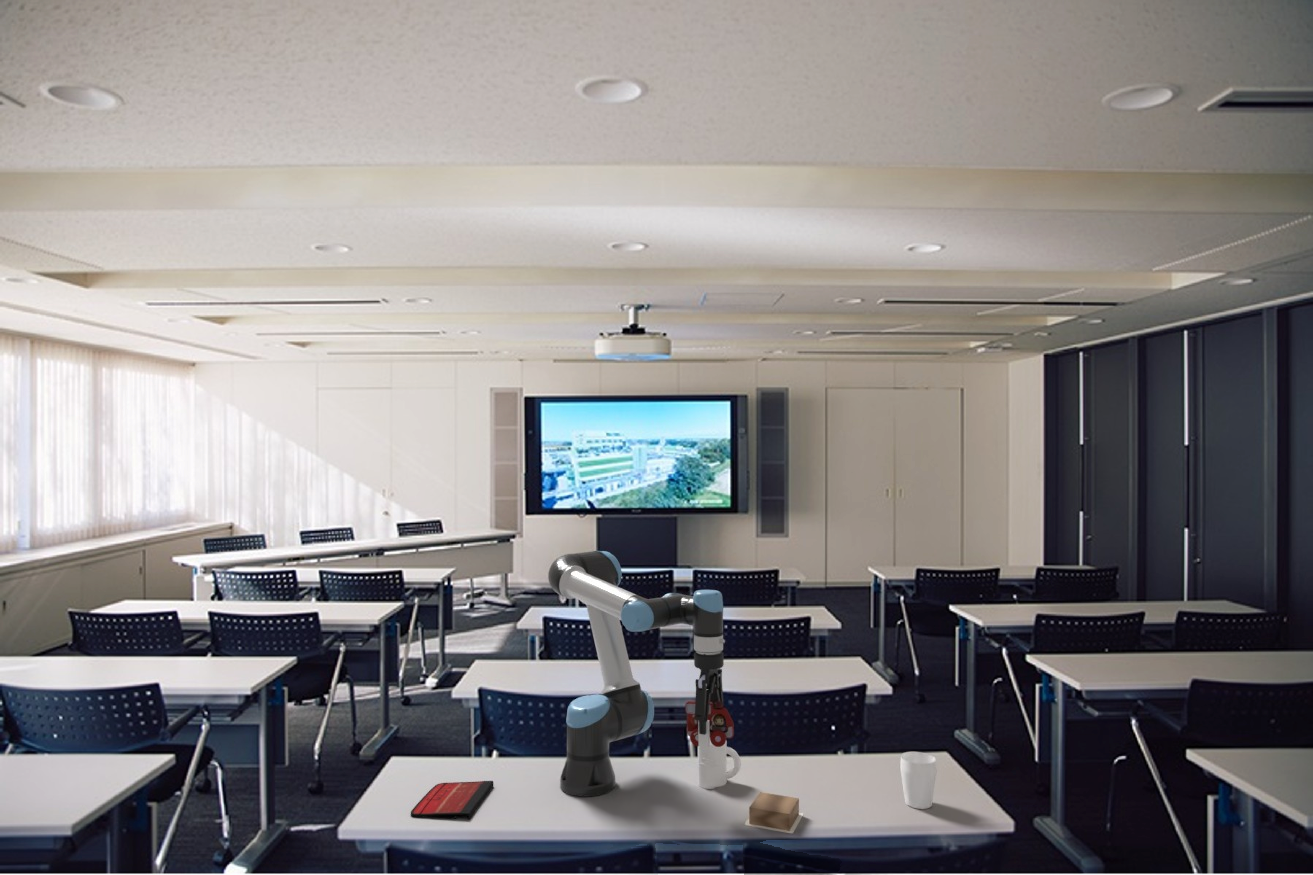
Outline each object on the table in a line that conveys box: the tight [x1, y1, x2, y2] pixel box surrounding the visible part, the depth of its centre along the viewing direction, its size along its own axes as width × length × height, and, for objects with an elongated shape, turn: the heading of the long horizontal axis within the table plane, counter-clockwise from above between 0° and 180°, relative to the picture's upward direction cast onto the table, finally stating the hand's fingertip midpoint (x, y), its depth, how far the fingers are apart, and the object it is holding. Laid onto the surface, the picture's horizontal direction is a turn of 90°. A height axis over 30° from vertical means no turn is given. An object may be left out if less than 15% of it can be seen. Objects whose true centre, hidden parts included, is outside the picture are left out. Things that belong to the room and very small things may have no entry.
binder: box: [410, 780, 494, 821], centre depth 217 cm, size 16×2×21 cm
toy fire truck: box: [684, 700, 735, 747], centre depth 212 cm, size 7×12×10 cm, turn 82°
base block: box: [748, 791, 800, 831], centre depth 206 cm, size 10×10×4 cm
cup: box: [899, 751, 937, 810], centre depth 217 cm, size 9×9×12 cm
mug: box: [697, 740, 742, 790], centre depth 229 cm, size 8×12×12 cm
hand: (709, 740), depth 212 cm, fingers closed on toy fire truck, 8 cm apart
